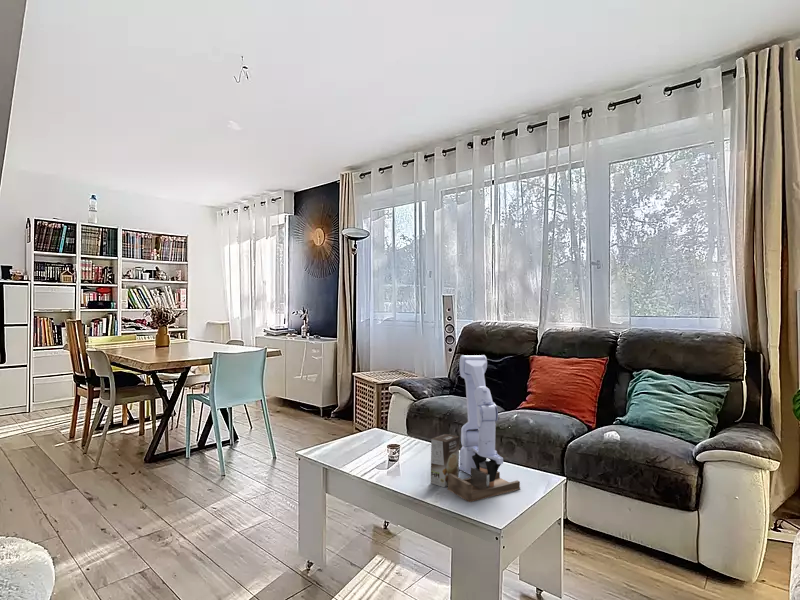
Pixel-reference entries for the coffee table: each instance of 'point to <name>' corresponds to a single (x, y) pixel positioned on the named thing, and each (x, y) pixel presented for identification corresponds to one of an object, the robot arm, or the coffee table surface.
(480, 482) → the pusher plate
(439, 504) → the coffee table surface
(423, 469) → the coffee table surface
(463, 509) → the coffee table surface
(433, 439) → the coffee box
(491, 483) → the jar
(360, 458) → the coffee table surface
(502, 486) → the pusher lane
